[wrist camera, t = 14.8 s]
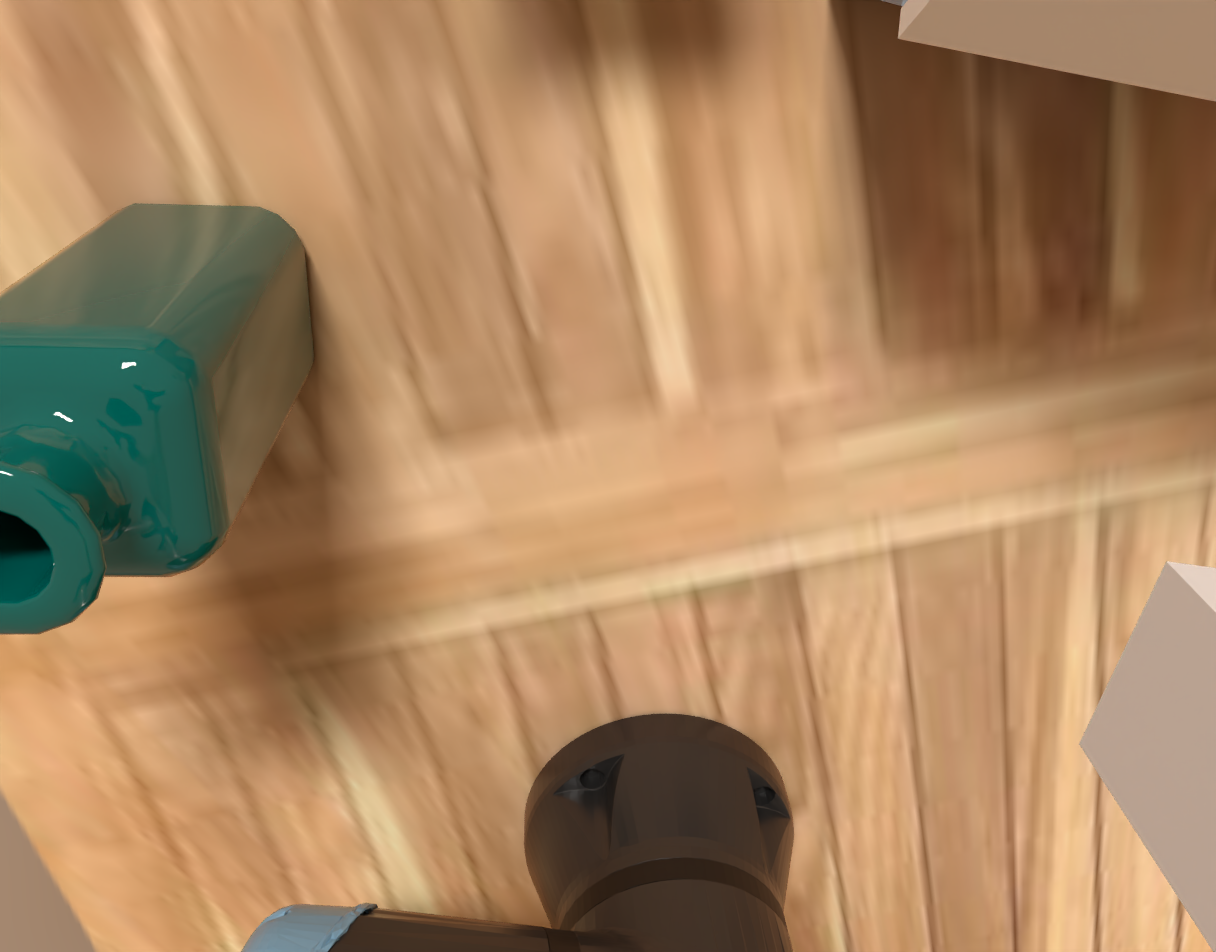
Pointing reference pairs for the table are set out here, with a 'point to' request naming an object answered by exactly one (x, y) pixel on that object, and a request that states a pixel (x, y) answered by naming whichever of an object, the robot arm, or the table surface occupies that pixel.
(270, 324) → the pitcher
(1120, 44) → the lid
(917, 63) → the table surface
